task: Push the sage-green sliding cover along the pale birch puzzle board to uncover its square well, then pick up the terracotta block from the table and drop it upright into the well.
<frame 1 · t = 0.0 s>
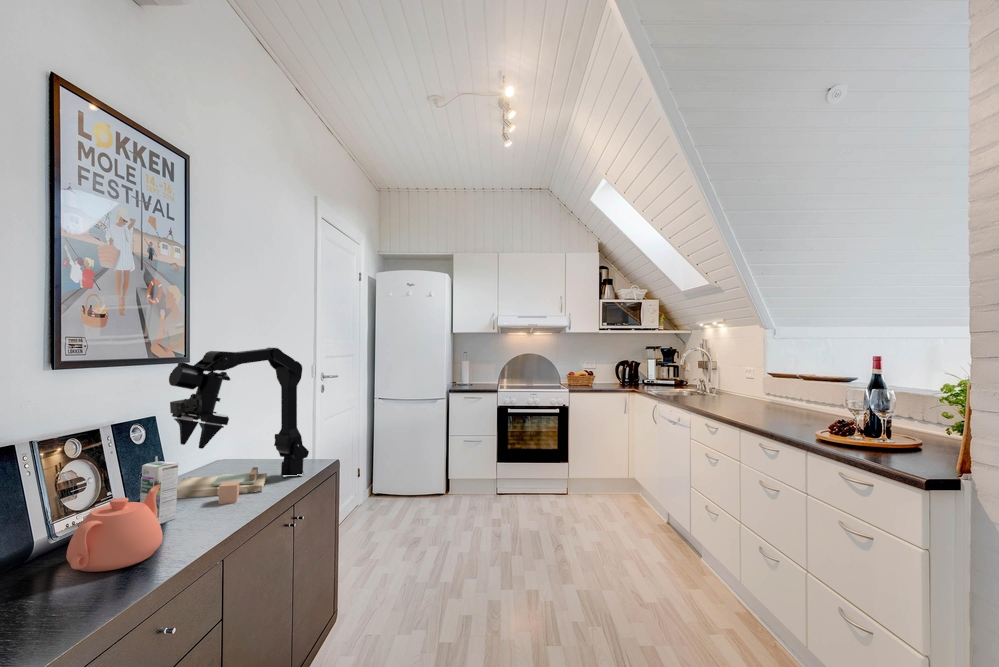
hand: (191, 446, 139), 15 cm above the sideboard, tool pointing down, fingers open, 9 cm apart
syrup box: (157, 521, 123), on the sideboard
puzzle board: (221, 488, 152), on the sideboard
block: (228, 501, 140), on the sideboard
smoothie: (152, 509, 132), on the sideboard
teapot: (119, 558, 102), on the sideboard
cover: (236, 475, 153), point 4 cm above the sideboard, slide at 0.0 cm
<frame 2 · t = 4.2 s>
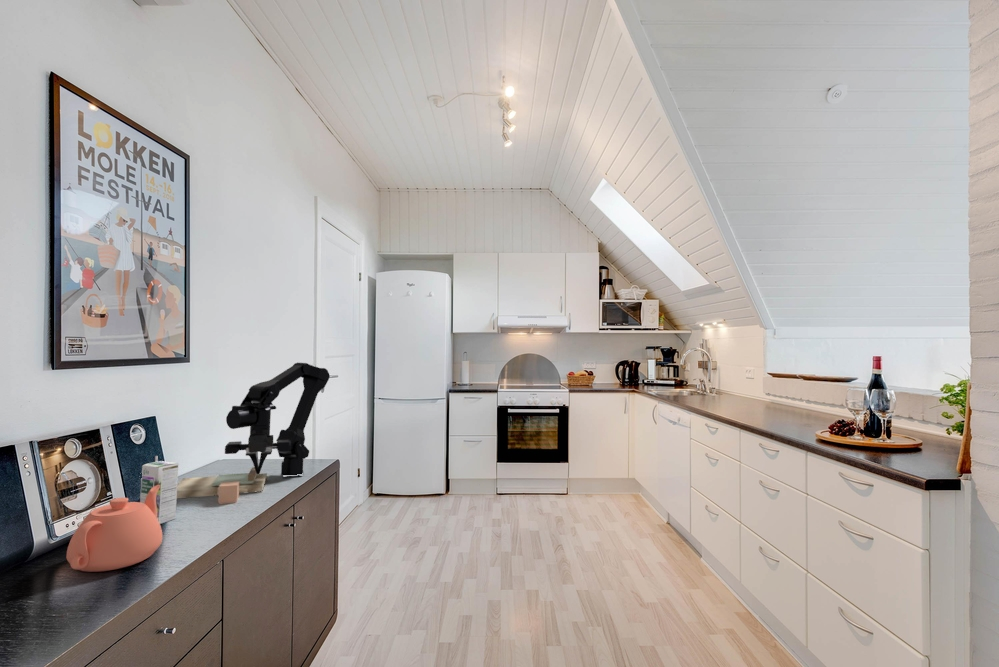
hand: (258, 473, 155), 4 cm above the sideboard, tool pointing down, fingers closed
cover: (235, 475, 153), point 4 cm above the sideboard, slide at 0.3 cm, touching gripper
everything else where it was.
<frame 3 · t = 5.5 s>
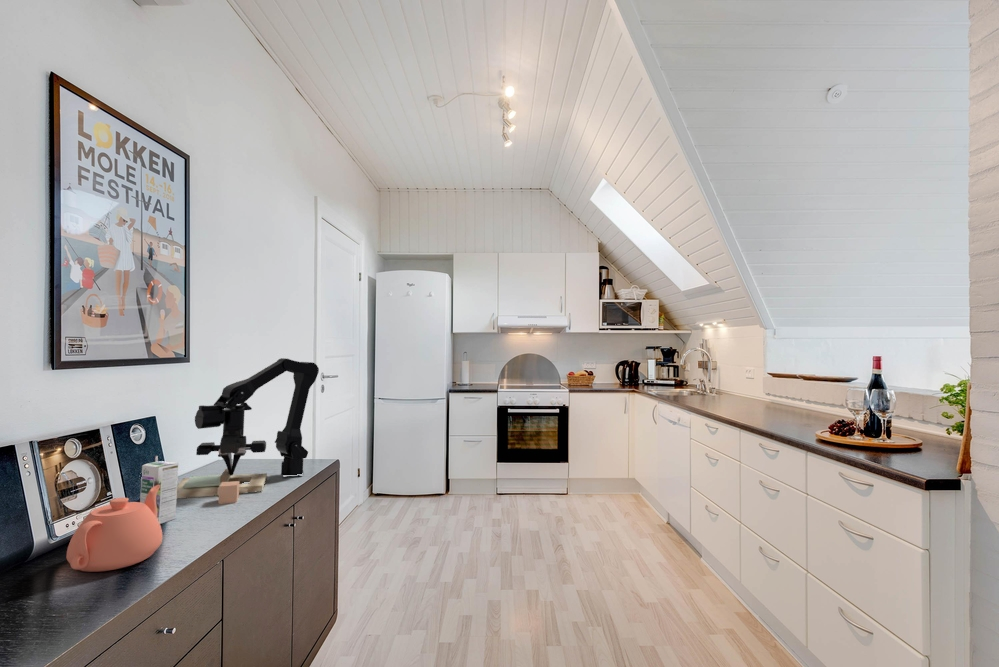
hand: (231, 475, 152), 4 cm above the sideboard, tool pointing down, fingers closed
cover: (208, 477, 150), point 4 cm above the sideboard, slide at 7.8 cm, touching gripper
everything else where it was.
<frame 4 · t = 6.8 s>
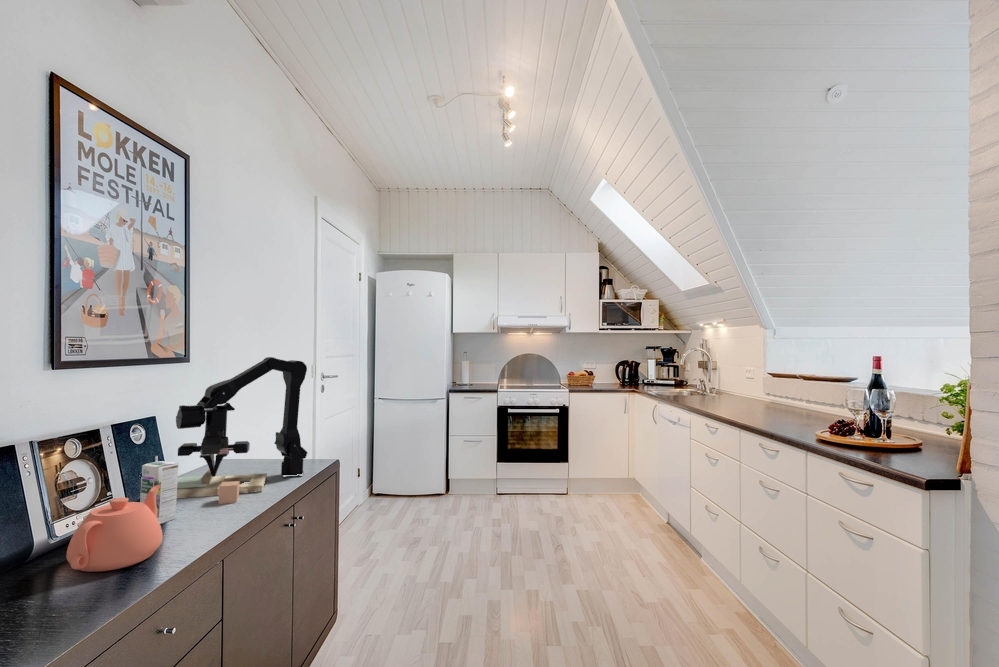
hand: (213, 476, 151), 4 cm above the sideboard, tool pointing down, fingers closed
cover: (190, 478, 149), point 4 cm above the sideboard, slide at 12.7 cm, touching gripper
everything else where it was.
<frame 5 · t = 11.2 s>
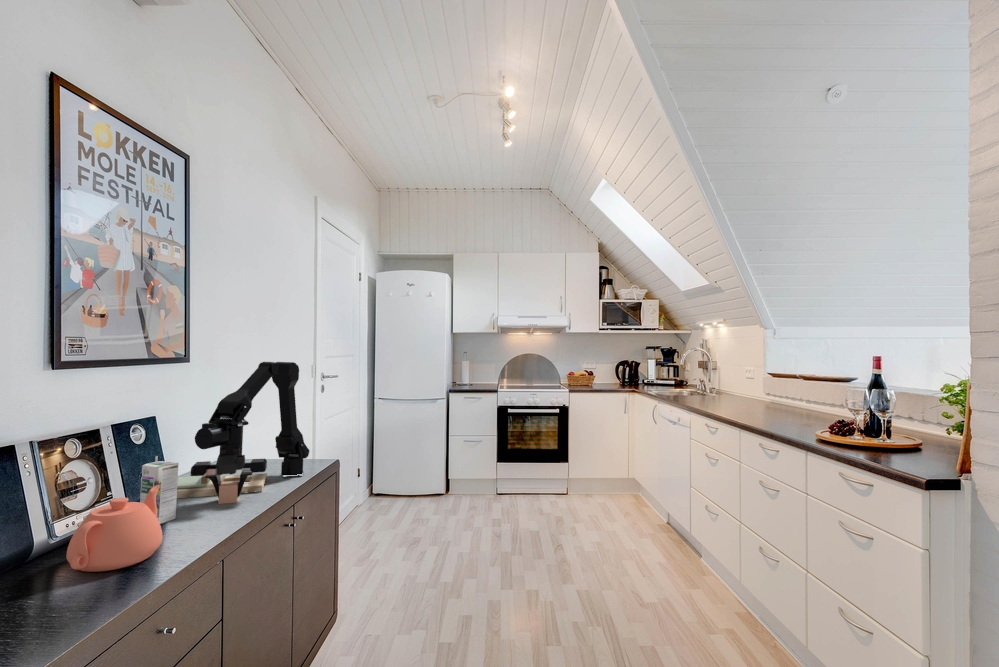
hand: (229, 497, 140), 1 cm above the sideboard, tool pointing down, fingers closed on block, 4 cm apart
block: (228, 500, 140), on the sideboard, touching gripper
cover: (189, 478, 149), point 4 cm above the sideboard, slide at 12.8 cm
everything else where it was.
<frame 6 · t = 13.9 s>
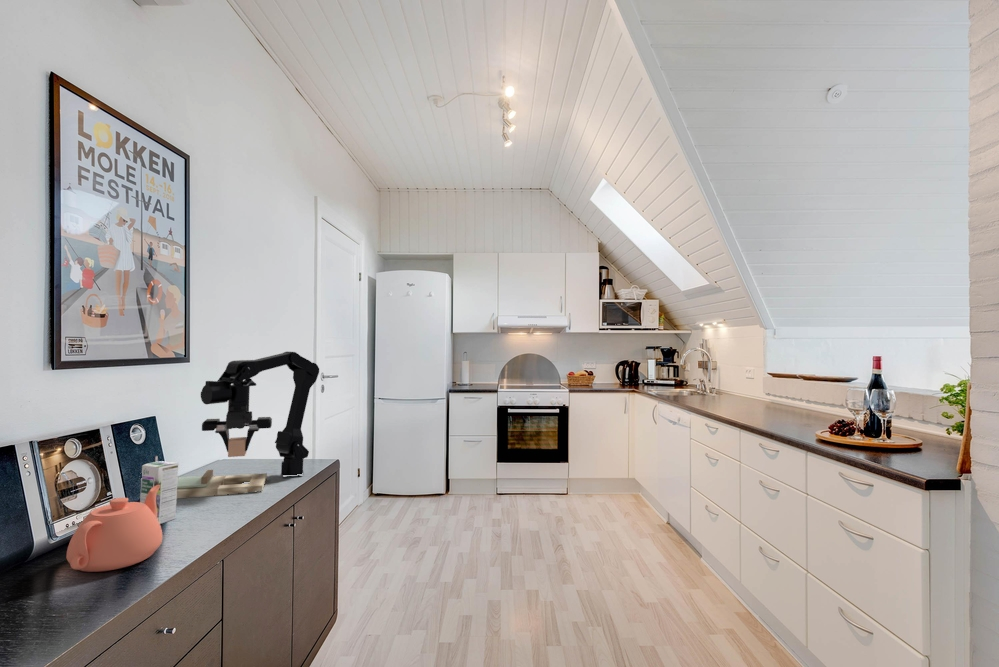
hand: (237, 451, 151), 12 cm above the sideboard, tool pointing down, fingers closed on block, 4 cm apart
block: (237, 454, 151), point 11 cm above the sideboard, touching gripper
everything else where it was.
when the fingers open (3 cm above the sideboard, at t = 16.6 s): block drops 2 cm, resting on puzzle board.
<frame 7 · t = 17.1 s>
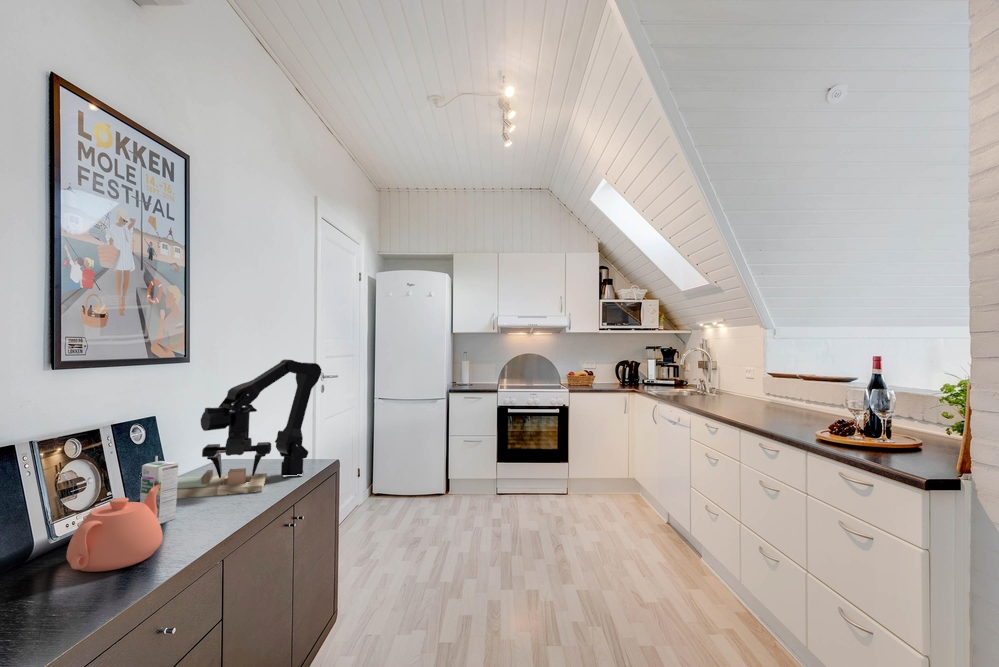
hand: (236, 476, 153), 3 cm above the sideboard, tool pointing down, fingers open, 9 cm apart
block: (236, 486, 153), resting on puzzle board
everything else where it was.
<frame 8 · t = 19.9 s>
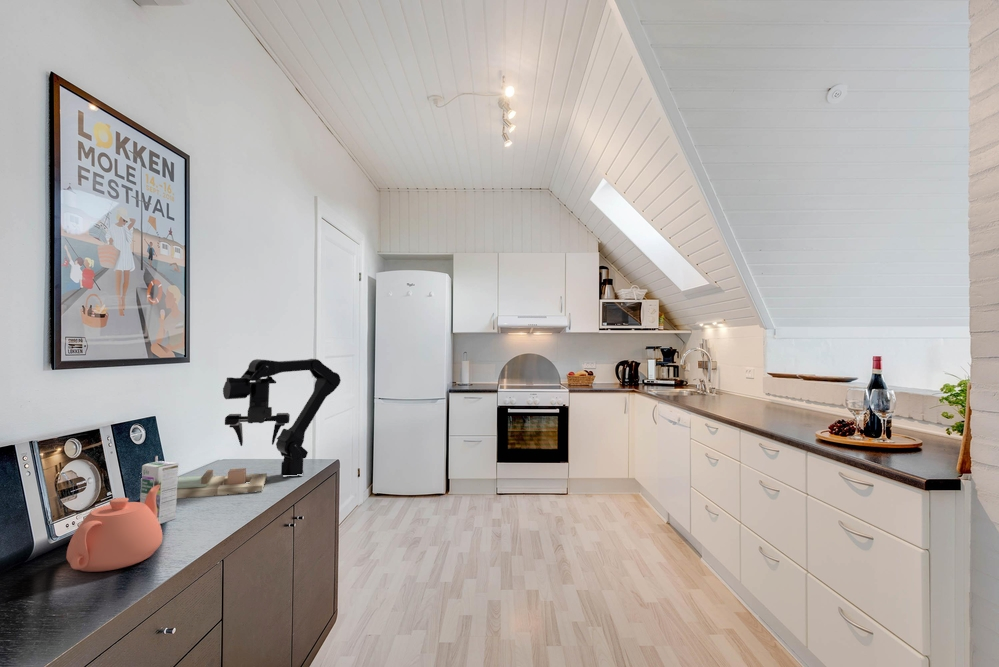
hand: (257, 445, 160), 12 cm above the sideboard, tool pointing down, fingers open, 9 cm apart
nothing on the sideboard moved.
at the end: cover slide at 12.8 cm; block 0.0 cm from the target spot, resting on puzzle board; block tilted 0° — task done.
